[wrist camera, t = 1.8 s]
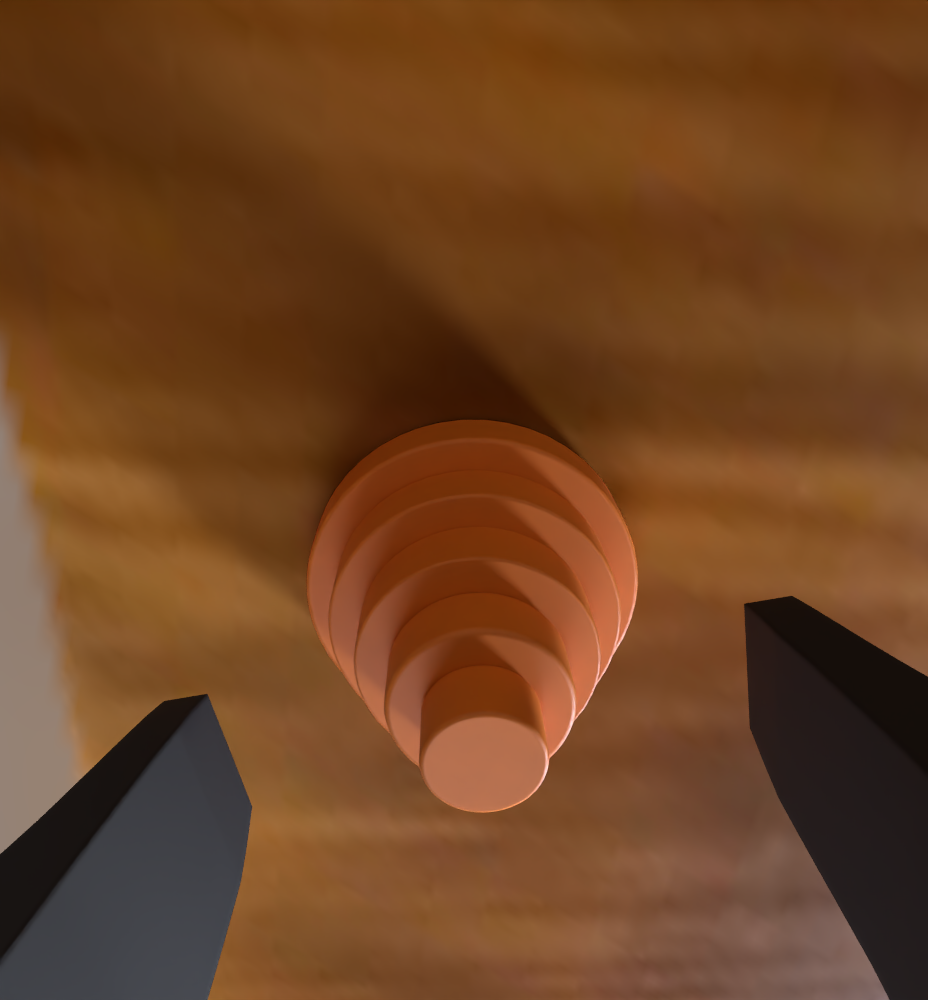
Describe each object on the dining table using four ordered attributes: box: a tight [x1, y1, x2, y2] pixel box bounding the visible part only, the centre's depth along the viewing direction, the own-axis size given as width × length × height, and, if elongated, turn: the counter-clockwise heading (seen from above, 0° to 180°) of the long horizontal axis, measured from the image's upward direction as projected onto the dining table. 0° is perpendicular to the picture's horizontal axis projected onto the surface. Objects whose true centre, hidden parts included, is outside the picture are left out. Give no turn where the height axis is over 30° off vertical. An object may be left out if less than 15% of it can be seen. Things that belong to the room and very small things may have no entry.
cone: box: [306, 420, 638, 812], centre depth 12 cm, size 6×6×5 cm
